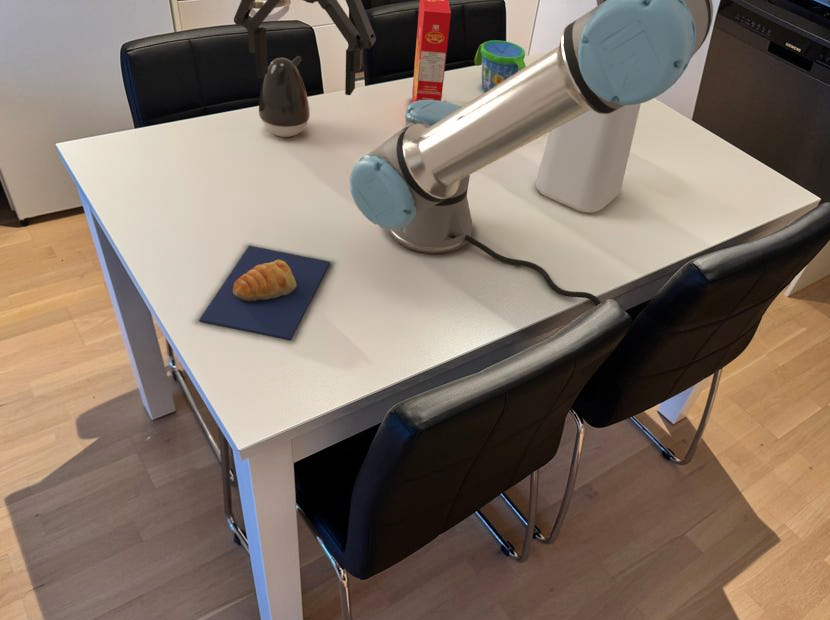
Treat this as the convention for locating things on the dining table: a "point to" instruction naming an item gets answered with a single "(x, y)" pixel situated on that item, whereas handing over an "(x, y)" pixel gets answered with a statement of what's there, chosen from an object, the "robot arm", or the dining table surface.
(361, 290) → the dining table surface
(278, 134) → the pump dispenser
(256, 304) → the cloth mat
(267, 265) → the pastry
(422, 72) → the food packaging
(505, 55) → the snack cup
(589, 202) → the plastic bottle
